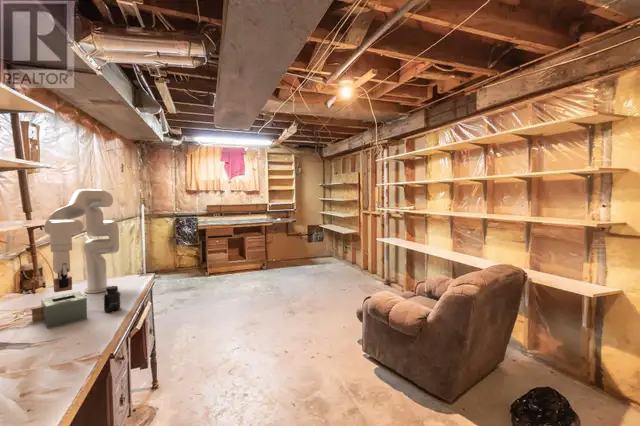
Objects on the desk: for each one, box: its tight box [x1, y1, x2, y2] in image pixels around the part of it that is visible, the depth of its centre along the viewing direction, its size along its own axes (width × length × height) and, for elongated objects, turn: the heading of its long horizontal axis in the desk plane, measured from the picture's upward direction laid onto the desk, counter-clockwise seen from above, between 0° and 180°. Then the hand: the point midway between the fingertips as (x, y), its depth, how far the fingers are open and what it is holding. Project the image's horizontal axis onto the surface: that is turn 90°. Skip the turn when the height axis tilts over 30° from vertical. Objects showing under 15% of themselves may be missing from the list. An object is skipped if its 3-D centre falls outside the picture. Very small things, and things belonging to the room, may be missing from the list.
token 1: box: [31, 305, 43, 322], centre depth 140 cm, size 3×6×6 cm, turn 140°
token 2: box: [53, 275, 73, 293], centre depth 139 cm, size 3×6×6 cm, turn 140°
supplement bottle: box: [103, 285, 121, 314], centre depth 151 cm, size 7×7×12 cm
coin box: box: [40, 291, 88, 329], centre depth 140 cm, size 14×14×10 cm
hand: (63, 286), depth 139 cm, fingers closed on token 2, 2 cm apart
